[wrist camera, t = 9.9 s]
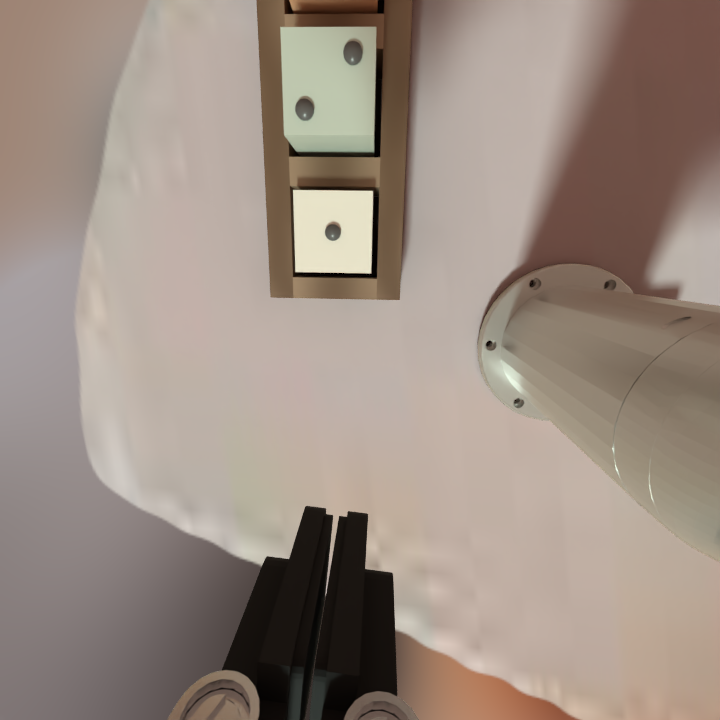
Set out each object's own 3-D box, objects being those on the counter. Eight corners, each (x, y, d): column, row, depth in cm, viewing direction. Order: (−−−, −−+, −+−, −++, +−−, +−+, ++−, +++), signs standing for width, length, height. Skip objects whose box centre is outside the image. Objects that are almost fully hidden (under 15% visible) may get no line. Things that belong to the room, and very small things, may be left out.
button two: (376, 72, 24) (376, 24, 19) (374, 158, 26) (374, 134, 21) (298, 72, 24) (279, 24, 19) (300, 157, 26) (283, 133, 21)
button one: (373, 202, 28) (373, 190, 23) (371, 270, 29) (371, 273, 24) (306, 201, 28) (292, 189, 23) (308, 269, 30) (294, 272, 25)
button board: (411, -86, 24) (419, -153, 20) (396, 294, 30) (399, 299, 26) (269, -84, 24) (249, -149, 20) (284, 292, 30) (270, 297, 26)
